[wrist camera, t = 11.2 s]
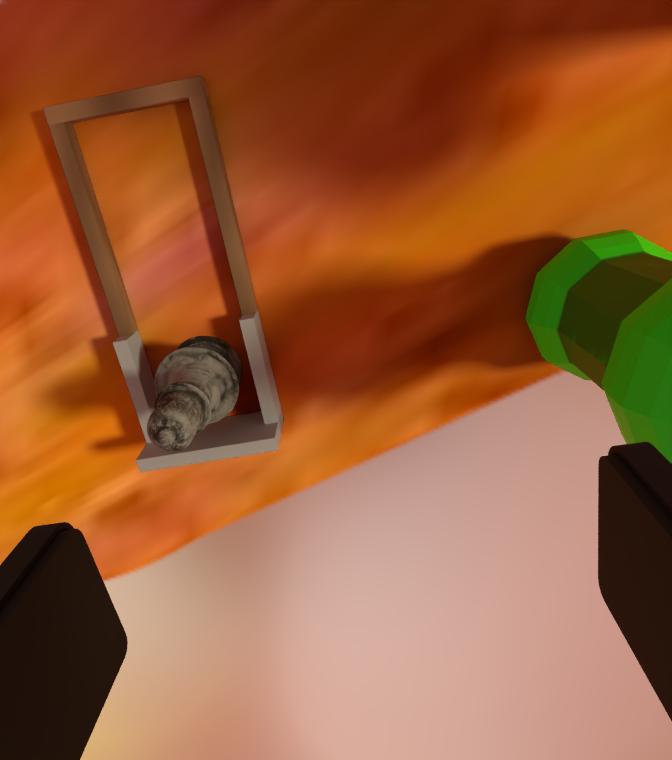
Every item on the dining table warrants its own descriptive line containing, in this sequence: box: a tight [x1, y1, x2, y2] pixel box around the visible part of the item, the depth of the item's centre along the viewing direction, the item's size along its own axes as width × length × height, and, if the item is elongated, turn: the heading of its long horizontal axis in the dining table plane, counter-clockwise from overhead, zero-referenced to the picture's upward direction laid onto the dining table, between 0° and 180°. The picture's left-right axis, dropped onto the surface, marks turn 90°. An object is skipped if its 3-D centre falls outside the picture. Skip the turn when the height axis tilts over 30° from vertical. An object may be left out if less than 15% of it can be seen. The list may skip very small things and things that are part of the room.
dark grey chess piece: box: [147, 336, 242, 452], centre depth 36 cm, size 6×6×12 cm
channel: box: [43, 76, 258, 337], centre depth 37 cm, size 10×15×1 cm, turn 10°
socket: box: [113, 310, 284, 472], centre depth 40 cm, size 10×9×5 cm
